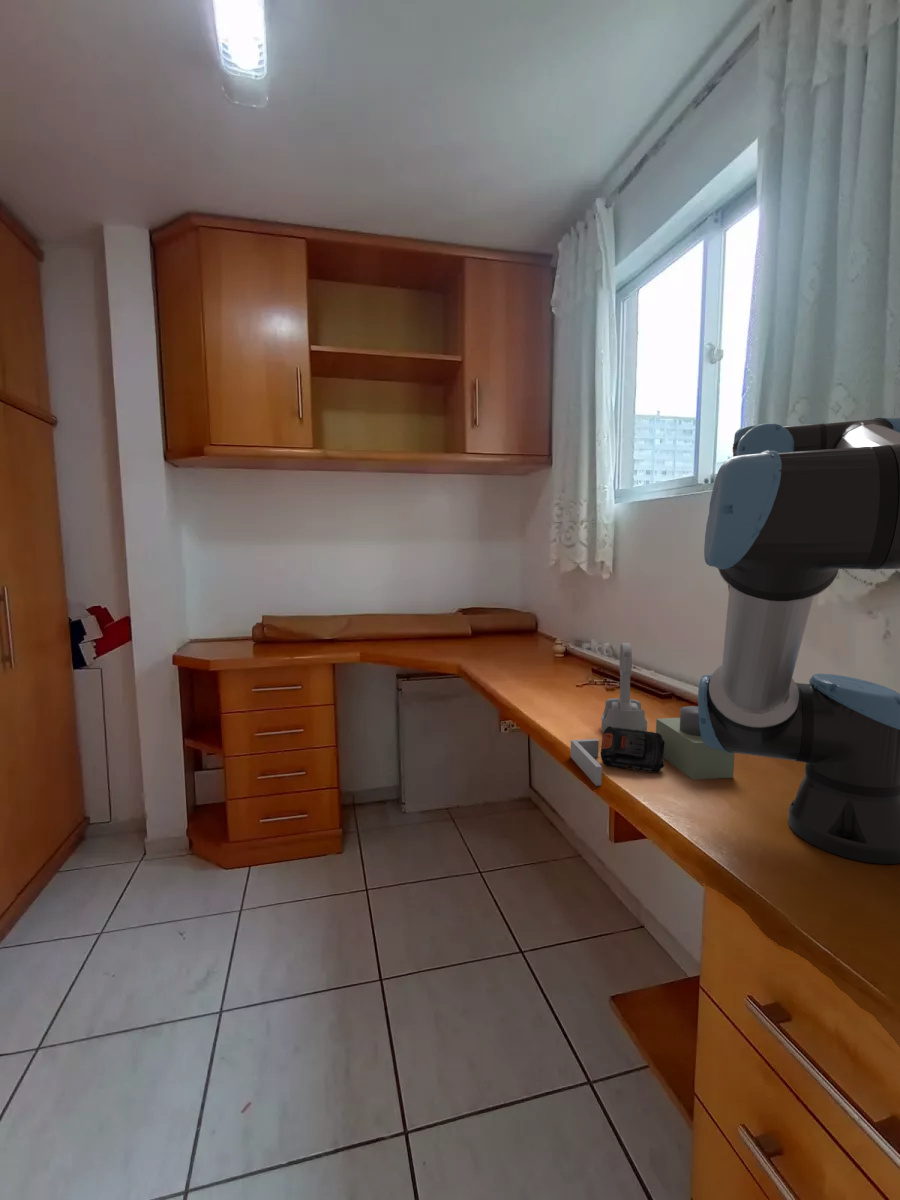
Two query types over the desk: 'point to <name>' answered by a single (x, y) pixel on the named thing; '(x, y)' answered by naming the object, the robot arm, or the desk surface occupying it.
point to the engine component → (624, 699)
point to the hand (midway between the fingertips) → (746, 646)
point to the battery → (632, 749)
